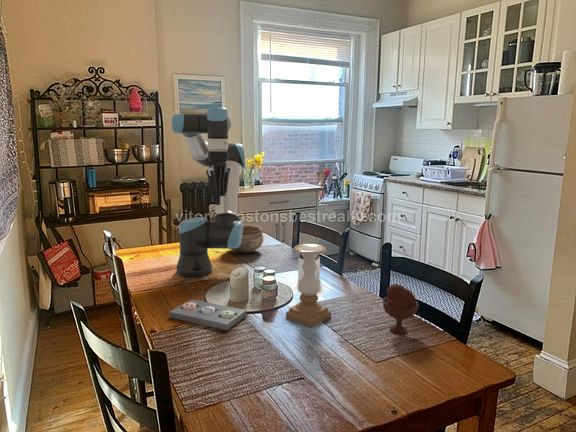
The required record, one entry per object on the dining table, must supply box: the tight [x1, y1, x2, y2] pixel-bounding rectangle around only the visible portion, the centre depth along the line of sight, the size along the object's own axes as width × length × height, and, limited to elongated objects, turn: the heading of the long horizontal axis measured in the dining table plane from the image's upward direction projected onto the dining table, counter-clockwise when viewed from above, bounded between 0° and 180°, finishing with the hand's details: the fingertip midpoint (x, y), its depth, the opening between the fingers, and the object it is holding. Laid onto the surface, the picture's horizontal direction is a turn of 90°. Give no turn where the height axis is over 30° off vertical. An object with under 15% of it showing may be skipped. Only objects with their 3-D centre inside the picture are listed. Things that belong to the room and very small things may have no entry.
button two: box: [182, 302, 196, 311], centre depth 150 cm, size 4×4×3 cm
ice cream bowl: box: [382, 283, 420, 336], centre depth 137 cm, size 11×11×15 cm
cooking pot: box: [230, 224, 264, 255], centre depth 222 cm, size 25×19×12 cm
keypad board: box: [169, 298, 247, 331], centre depth 147 cm, size 22×12×2 cm, turn 65°
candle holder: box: [285, 243, 332, 328], centre depth 145 cm, size 11×11×24 cm
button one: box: [221, 310, 235, 319], centre depth 144 cm, size 4×4×3 cm
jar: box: [297, 253, 321, 281], centre depth 184 cm, size 9×8×12 cm
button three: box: [201, 306, 215, 315], centre depth 147 cm, size 4×4×3 cm
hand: (219, 212), depth 170 cm, fingers closed
